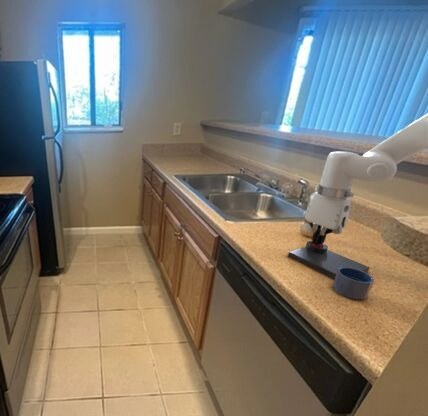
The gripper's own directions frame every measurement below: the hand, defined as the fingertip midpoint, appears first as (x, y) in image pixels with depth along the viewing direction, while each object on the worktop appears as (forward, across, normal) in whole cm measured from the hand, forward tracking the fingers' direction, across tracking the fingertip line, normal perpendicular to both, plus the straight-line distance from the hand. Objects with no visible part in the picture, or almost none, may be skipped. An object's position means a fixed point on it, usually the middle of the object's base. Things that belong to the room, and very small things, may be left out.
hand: (316, 243), depth 92 cm
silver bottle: (+4, +9, -13) cm, 16 cm away
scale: (+4, -6, +3) cm, 8 cm away
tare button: (+2, 0, 0) cm, 2 cm away
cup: (+4, -17, +12) cm, 21 cm away
